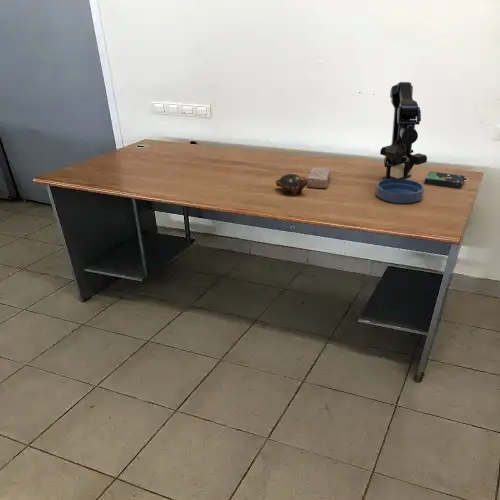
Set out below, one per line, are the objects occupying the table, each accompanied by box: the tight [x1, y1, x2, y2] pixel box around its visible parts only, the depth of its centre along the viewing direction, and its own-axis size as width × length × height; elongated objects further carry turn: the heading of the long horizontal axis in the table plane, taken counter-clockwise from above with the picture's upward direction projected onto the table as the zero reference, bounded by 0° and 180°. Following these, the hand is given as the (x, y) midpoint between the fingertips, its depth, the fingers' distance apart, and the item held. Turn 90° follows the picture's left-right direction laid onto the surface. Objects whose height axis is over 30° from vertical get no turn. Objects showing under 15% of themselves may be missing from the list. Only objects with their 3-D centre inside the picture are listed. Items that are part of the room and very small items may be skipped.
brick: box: [307, 167, 331, 189], centre depth 221 cm, size 17×8×5 cm, turn 167°
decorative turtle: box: [275, 173, 308, 197], centre depth 210 cm, size 10×15×8 cm, turn 58°
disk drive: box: [424, 171, 466, 189], centre depth 218 cm, size 10×3×15 cm
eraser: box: [390, 163, 413, 182], centre depth 201 cm, size 8×4×5 cm, turn 125°
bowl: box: [375, 178, 425, 205], centre depth 205 cm, size 18×18×4 cm
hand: (400, 175), depth 202 cm, fingers closed on eraser, 4 cm apart
